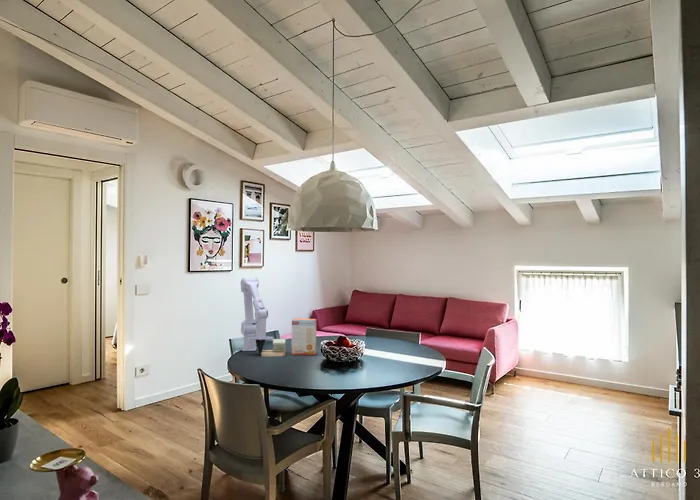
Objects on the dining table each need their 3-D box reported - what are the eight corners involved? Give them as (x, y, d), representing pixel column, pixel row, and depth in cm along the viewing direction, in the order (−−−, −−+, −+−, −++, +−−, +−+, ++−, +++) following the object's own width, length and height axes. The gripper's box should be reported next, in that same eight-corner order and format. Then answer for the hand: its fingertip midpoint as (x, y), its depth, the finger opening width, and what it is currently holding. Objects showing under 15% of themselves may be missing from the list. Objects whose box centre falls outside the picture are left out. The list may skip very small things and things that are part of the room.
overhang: (273, 352, 262) (273, 338, 262) (285, 351, 263) (285, 338, 263) (272, 356, 250) (272, 342, 250) (284, 356, 251) (285, 342, 251)
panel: (262, 354, 258) (262, 350, 258) (282, 354, 259) (283, 350, 260) (261, 357, 250) (261, 353, 250) (282, 357, 252) (282, 352, 252)
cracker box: (316, 353, 261) (316, 318, 261) (314, 355, 255) (315, 319, 255) (293, 352, 262) (294, 317, 263) (290, 354, 256) (291, 319, 256)
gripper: (247, 330, 249) (246, 354, 249) (273, 330, 251) (272, 354, 251) (248, 328, 256) (248, 351, 256) (273, 328, 258) (273, 351, 258)
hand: (260, 352), depth 254 cm, fingers closed
